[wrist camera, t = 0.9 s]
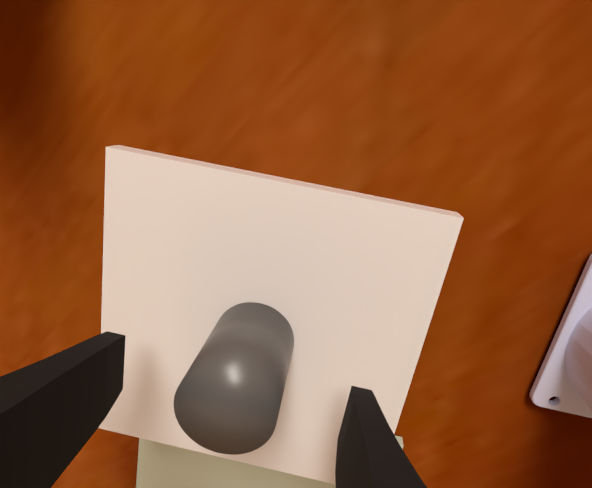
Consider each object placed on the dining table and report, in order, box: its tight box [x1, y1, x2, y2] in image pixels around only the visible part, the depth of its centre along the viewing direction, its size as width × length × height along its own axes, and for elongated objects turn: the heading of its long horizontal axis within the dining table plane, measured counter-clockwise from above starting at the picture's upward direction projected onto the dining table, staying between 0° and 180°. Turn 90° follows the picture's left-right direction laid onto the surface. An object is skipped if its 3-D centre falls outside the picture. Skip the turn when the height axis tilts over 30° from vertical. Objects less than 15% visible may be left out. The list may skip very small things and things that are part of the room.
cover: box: [99, 145, 464, 485], centre depth 14 cm, size 12×12×5 cm
